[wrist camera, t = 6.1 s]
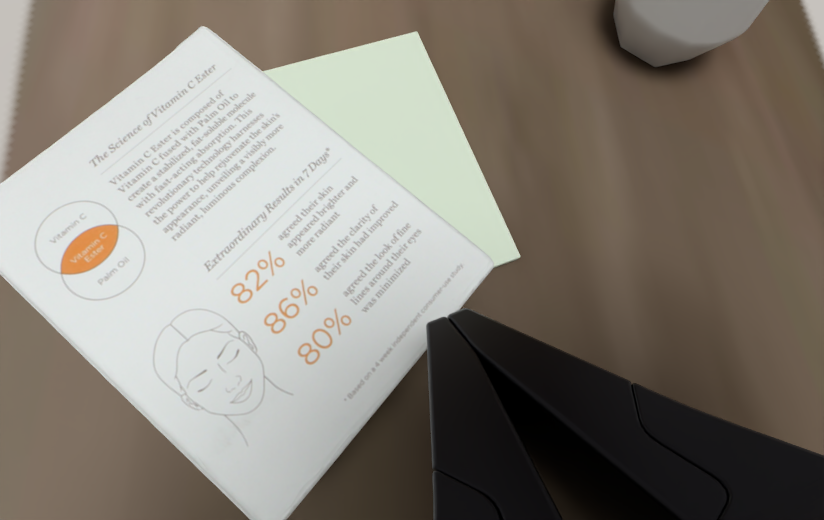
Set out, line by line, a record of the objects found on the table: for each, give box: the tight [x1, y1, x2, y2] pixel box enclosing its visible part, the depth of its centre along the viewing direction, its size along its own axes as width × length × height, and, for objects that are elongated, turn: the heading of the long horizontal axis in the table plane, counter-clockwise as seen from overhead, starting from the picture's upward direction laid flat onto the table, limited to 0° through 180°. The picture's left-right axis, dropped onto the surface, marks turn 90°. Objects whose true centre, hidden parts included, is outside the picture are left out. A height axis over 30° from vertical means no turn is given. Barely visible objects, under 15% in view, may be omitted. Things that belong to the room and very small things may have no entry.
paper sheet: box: [263, 31, 521, 268], centre depth 17 cm, size 11×10×1 cm
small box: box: [0, 26, 494, 520], centre depth 13 cm, size 8×6×10 cm
